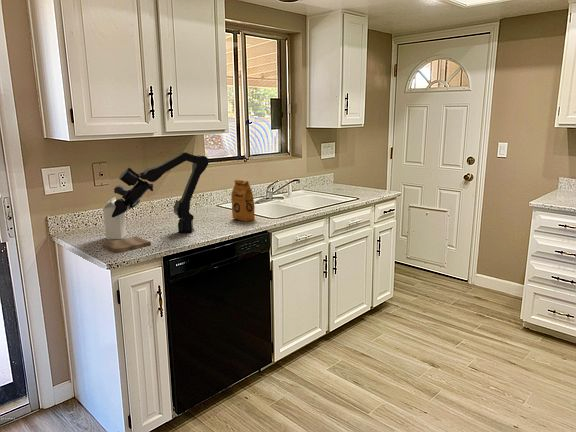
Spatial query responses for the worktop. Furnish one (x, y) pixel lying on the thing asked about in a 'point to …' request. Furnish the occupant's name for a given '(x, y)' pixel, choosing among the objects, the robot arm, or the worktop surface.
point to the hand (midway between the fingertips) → (116, 214)
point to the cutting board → (126, 244)
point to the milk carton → (113, 222)
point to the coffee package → (242, 201)
